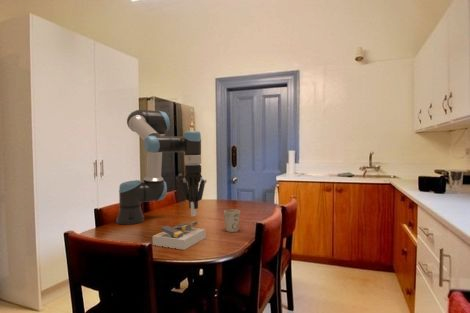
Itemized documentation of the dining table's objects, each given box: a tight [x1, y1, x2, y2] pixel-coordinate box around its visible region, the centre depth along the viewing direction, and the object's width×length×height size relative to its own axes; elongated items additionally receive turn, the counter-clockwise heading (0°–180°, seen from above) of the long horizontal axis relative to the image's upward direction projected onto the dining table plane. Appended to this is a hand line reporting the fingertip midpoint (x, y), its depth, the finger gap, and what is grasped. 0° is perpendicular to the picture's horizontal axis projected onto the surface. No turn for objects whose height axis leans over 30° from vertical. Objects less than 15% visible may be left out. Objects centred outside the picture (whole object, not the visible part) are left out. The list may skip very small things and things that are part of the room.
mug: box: [223, 208, 241, 233], centre depth 152 cm, size 8×13×10 cm, turn 27°
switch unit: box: [152, 225, 206, 251], centre depth 132 cm, size 16×18×5 cm
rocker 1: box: [160, 224, 184, 238], centre depth 126 cm, size 9×4×1 cm, turn 67°
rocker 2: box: [171, 224, 192, 230], centre depth 132 cm, size 9×4×1 cm, turn 67°
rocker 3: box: [176, 220, 199, 228], centre depth 138 cm, size 9×4×1 cm, turn 67°
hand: (193, 215), depth 136 cm, fingers closed
